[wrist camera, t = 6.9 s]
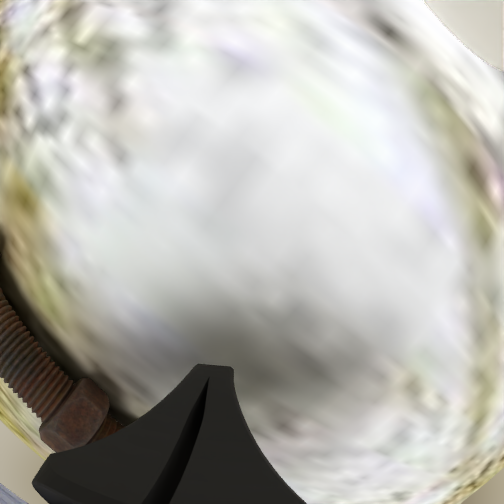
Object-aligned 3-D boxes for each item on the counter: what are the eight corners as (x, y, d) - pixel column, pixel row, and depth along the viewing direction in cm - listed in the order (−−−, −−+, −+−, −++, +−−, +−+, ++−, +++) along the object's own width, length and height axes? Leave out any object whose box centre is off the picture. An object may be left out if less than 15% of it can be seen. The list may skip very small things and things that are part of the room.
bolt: (147, 425, 15) (-5, 252, 12) (183, 435, 12) (-12, 211, 9) (103, 486, 10) (-62, 303, 8) (128, 516, 7) (-89, 274, 4)
